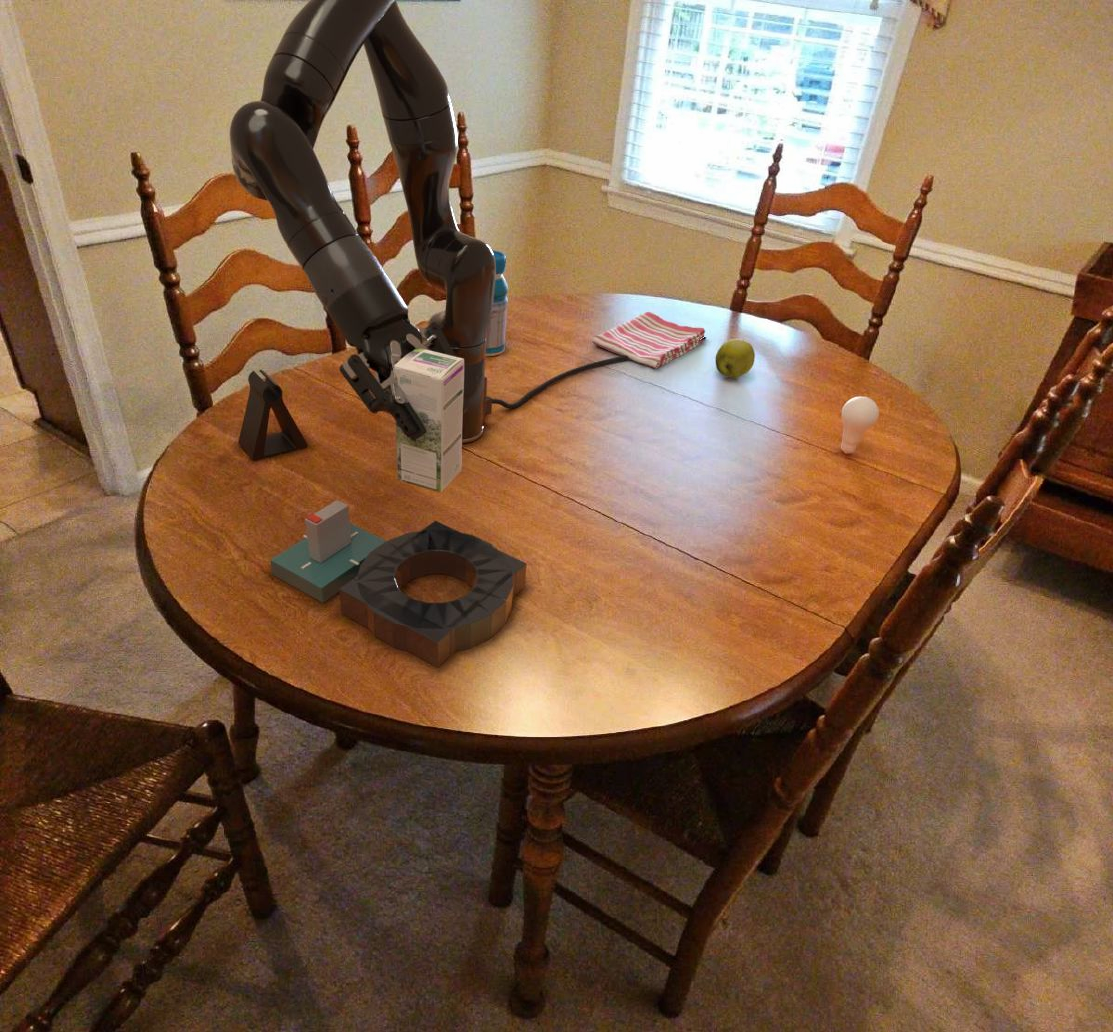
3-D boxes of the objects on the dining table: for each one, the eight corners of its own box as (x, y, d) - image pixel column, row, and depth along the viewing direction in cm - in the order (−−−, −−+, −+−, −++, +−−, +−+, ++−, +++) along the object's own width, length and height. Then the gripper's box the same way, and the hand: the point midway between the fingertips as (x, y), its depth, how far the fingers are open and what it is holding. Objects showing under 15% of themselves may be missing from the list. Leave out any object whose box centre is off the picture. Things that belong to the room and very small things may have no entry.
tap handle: (340, 537, 102) (337, 498, 98) (351, 542, 101) (348, 503, 98) (309, 557, 98) (304, 517, 94) (320, 563, 97) (316, 523, 94)
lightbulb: (865, 450, 141) (885, 396, 135) (861, 465, 136) (882, 409, 130) (831, 441, 143) (849, 387, 136) (826, 455, 138) (845, 400, 132)
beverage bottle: (503, 359, 159) (509, 262, 148) (463, 355, 159) (465, 258, 148) (506, 343, 166) (511, 250, 155) (467, 340, 166) (469, 246, 155)
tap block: (338, 530, 107) (337, 514, 106) (391, 557, 103) (390, 541, 102) (270, 573, 99) (267, 557, 97) (325, 604, 95) (323, 588, 93)
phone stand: (252, 461, 120) (241, 391, 113) (238, 444, 123) (227, 375, 116) (307, 447, 124) (300, 379, 118) (293, 431, 128) (285, 364, 121)
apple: (755, 374, 165) (764, 339, 160) (740, 388, 158) (749, 352, 154) (721, 364, 168) (730, 329, 163) (705, 377, 161) (713, 341, 157)
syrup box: (463, 470, 91) (466, 355, 82) (440, 495, 86) (442, 376, 78) (419, 458, 92) (418, 344, 84) (395, 482, 87) (391, 364, 79)
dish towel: (705, 342, 178) (708, 327, 176) (655, 371, 161) (657, 355, 159) (643, 320, 185) (645, 306, 183) (588, 346, 169) (590, 331, 167)
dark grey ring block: (426, 536, 108) (426, 513, 106) (539, 591, 101) (542, 567, 98) (326, 609, 94) (323, 584, 92) (448, 678, 87) (449, 653, 84)
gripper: (321, 289, 74) (417, 436, 76) (419, 259, 85) (500, 389, 87) (288, 326, 79) (378, 463, 82) (384, 293, 90) (462, 415, 92)
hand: (441, 424), depth 84 cm, fingers closed on syrup box, 6 cm apart
